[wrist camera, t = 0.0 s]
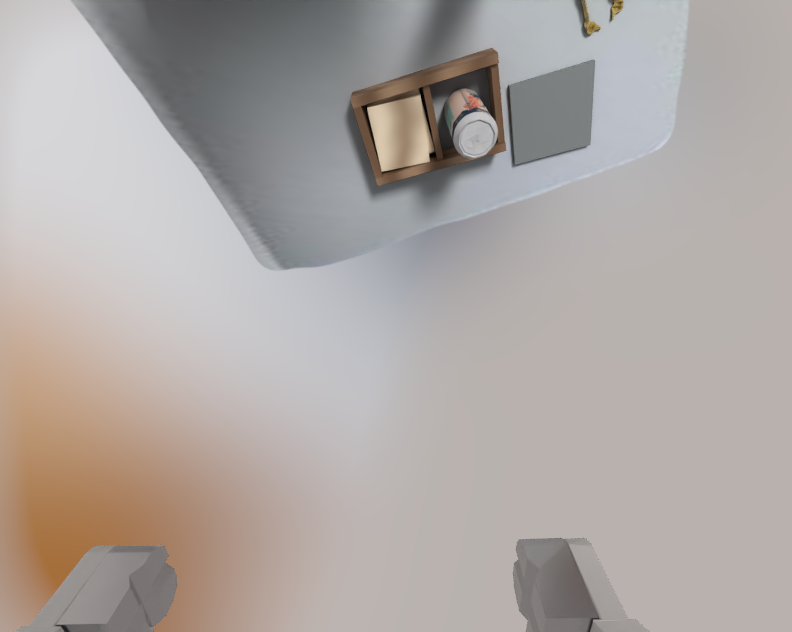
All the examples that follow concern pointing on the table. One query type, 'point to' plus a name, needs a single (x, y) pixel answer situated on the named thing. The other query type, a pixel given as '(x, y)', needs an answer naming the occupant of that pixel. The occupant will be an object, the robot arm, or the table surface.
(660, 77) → the table surface
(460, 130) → the beer can
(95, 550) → the robot arm
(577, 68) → the slate coaster
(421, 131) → the walnut organizer tray
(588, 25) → the tongs
